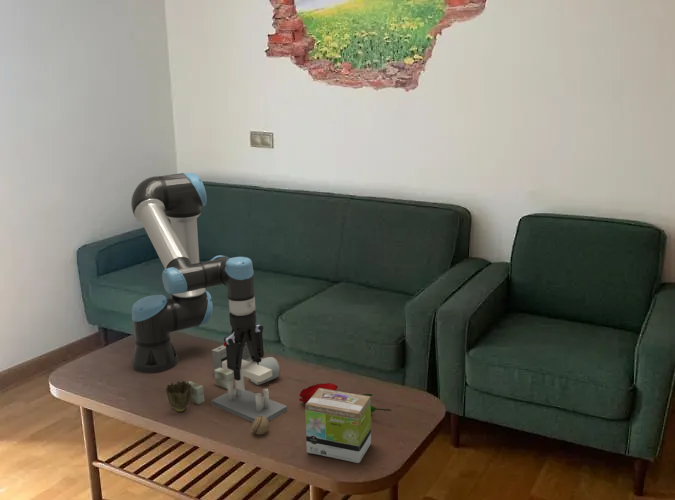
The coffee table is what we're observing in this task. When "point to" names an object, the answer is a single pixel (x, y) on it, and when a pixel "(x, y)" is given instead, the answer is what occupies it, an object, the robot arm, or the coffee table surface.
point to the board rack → (220, 379)
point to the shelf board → (252, 370)
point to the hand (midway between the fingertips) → (247, 385)
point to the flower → (311, 390)
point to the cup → (179, 396)
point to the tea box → (338, 424)
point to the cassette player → (221, 356)
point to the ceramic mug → (271, 364)
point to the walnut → (260, 425)
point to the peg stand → (248, 404)
